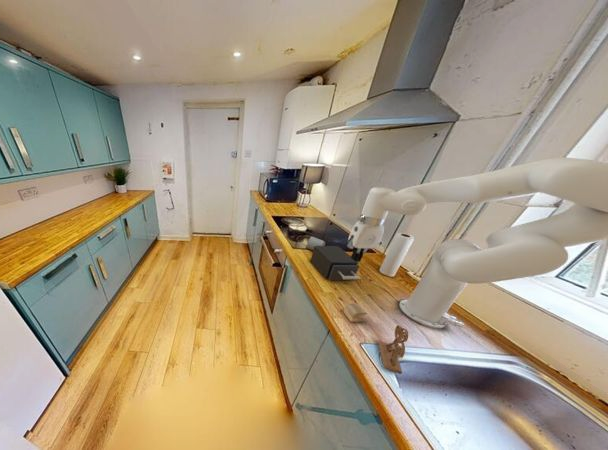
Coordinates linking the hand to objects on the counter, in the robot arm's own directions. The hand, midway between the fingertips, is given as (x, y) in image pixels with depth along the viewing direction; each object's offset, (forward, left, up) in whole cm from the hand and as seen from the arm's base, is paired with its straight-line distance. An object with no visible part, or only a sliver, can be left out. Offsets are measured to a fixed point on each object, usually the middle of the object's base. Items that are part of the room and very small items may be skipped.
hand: (355, 259), depth 83 cm
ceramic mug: (+20, -24, -14) cm, 35 cm away
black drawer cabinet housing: (+8, -8, -14) cm, 18 cm away
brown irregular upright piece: (-17, +28, -14) cm, 35 cm away
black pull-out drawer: (+5, -5, -13) cm, 15 cm away
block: (-6, +18, -14) cm, 23 cm away
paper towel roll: (-14, -26, -14) cm, 33 cm away
